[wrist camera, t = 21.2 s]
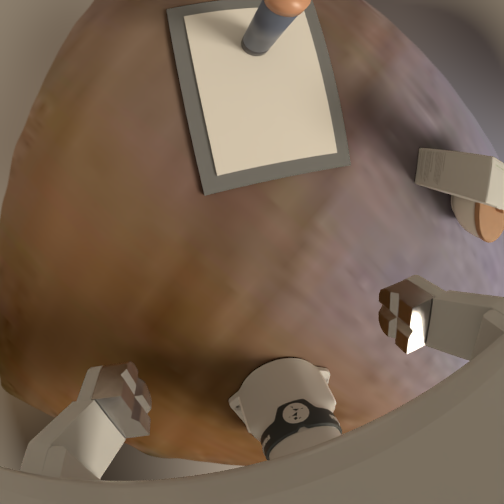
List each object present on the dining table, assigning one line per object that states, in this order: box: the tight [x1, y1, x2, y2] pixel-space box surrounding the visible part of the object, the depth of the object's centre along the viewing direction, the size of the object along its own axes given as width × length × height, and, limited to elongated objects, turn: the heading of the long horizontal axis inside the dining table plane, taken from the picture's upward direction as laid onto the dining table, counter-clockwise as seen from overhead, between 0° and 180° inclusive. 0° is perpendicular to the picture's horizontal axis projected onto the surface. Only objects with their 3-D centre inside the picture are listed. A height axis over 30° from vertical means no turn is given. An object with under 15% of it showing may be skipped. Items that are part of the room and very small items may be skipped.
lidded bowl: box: [451, 195, 504, 242], centre depth 39 cm, size 13×13×11 cm
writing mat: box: [166, 0, 351, 195], centre depth 31 cm, size 26×20×1 cm
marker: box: [241, 0, 311, 56], centre depth 23 cm, size 4×4×14 cm
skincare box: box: [415, 148, 504, 210], centre depth 33 cm, size 8×7×16 cm
